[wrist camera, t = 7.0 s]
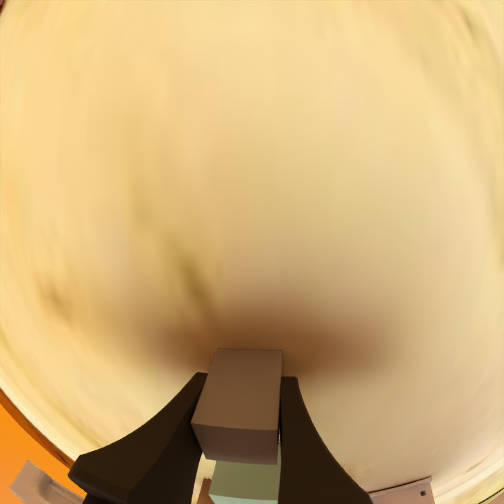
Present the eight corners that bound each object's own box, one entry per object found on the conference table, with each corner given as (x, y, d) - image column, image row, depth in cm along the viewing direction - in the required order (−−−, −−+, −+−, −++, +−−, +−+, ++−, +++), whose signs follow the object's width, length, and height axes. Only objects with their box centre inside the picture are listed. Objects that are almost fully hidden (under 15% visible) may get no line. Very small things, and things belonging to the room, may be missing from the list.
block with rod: (303, 349, 12) (307, 429, 7) (292, 471, 16) (289, 516, 12) (197, 347, 12) (164, 418, 8) (230, 468, 17) (220, 512, 12)
